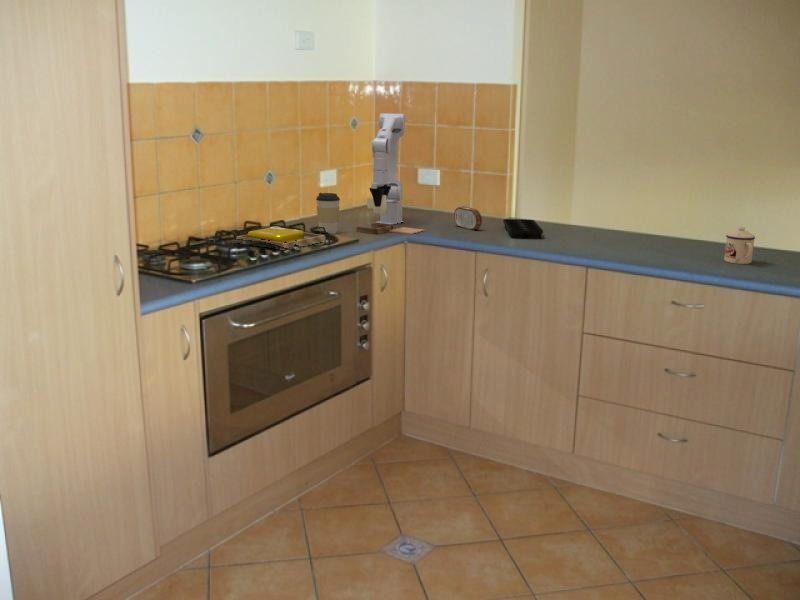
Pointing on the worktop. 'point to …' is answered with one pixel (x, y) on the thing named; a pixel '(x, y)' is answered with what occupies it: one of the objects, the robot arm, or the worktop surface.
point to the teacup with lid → (739, 246)
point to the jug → (377, 210)
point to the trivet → (406, 230)
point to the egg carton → (522, 228)
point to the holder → (375, 229)
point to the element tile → (277, 234)
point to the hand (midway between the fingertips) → (380, 205)
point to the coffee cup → (328, 211)
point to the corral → (303, 242)
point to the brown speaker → (468, 218)
